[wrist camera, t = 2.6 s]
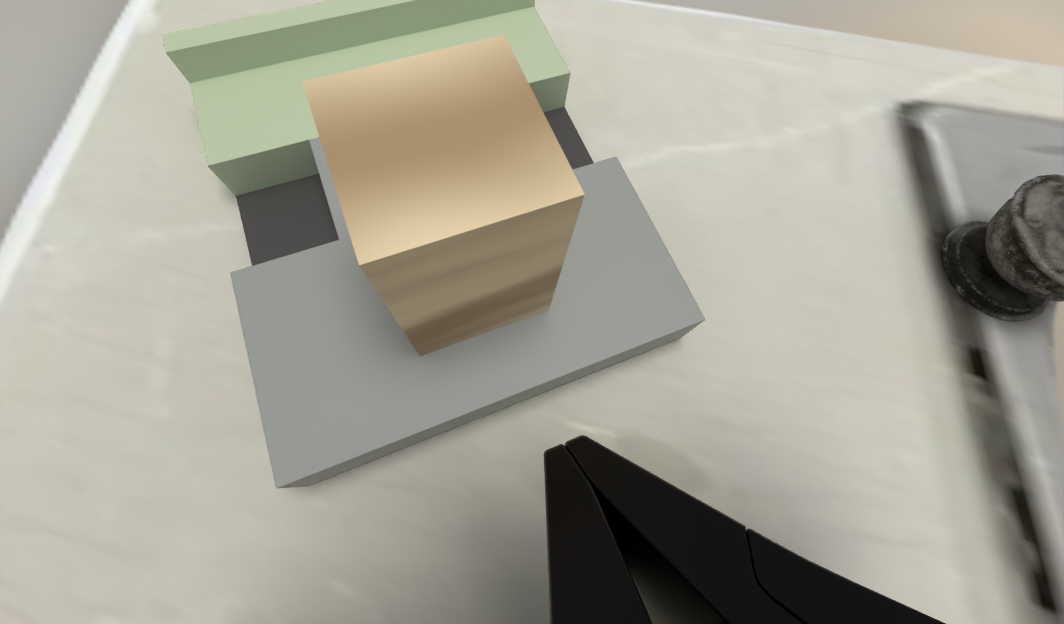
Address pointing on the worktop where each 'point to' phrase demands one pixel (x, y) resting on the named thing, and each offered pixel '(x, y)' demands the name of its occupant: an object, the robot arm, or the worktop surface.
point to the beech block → (449, 188)
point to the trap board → (329, 257)
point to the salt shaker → (1012, 253)
